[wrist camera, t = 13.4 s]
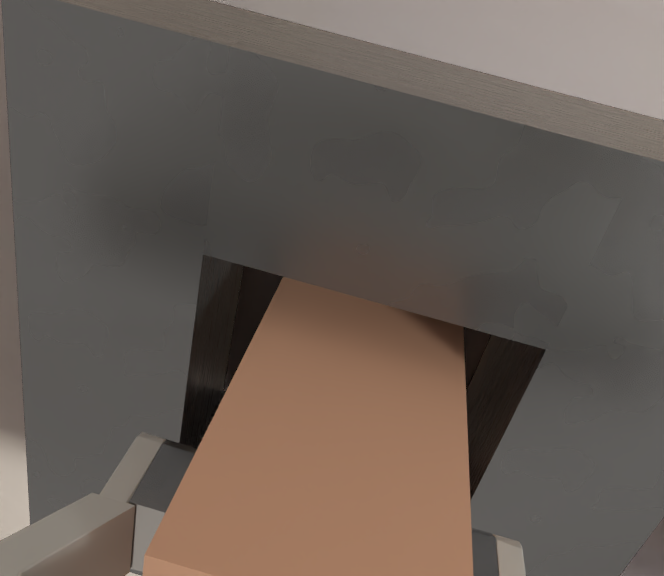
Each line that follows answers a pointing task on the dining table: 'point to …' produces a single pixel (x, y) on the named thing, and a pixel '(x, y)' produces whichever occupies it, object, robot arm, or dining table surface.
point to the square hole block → (334, 248)
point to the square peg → (330, 450)
